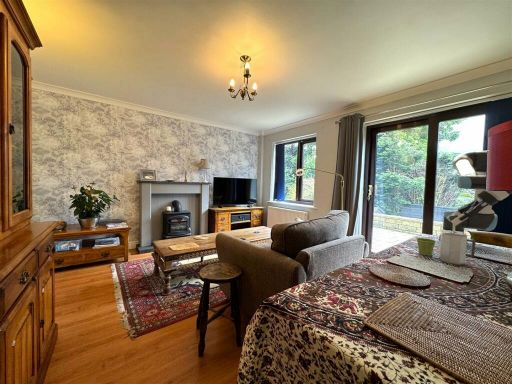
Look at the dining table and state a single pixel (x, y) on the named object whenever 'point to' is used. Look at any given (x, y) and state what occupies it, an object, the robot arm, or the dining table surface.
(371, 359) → the dining table surface
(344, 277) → the dining table surface
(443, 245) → the press carafe
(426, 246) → the plant pot
